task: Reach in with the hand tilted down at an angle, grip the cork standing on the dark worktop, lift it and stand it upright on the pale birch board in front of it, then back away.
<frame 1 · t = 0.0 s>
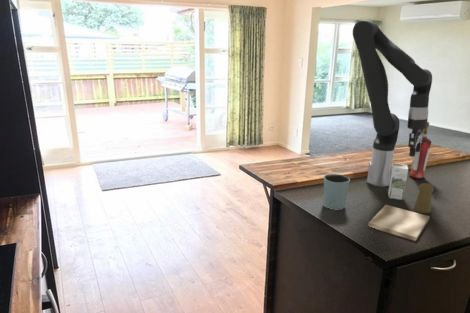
hand: (414, 154, 159), 17 cm above the worktop, tool pointing down, fingers open, 8 cm apart
blue-grey cup: (334, 205, 148), on the worktop
cork: (422, 210, 145), on the worktop
syrup box: (395, 197, 157), on the worktop
birch board: (399, 223, 134), on the worktop
liquor: (416, 177, 181), on the worktop
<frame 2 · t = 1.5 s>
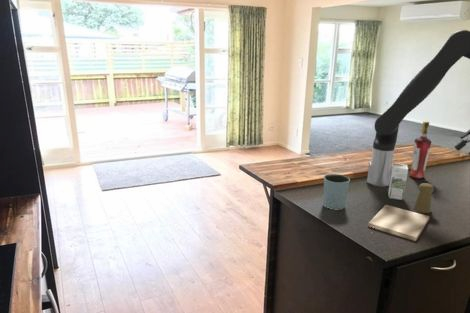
hand: (463, 152, 138), 24 cm above the worktop, tool tilted 45°, fingers open, 8 cm apart
nothing on the worktop moved.
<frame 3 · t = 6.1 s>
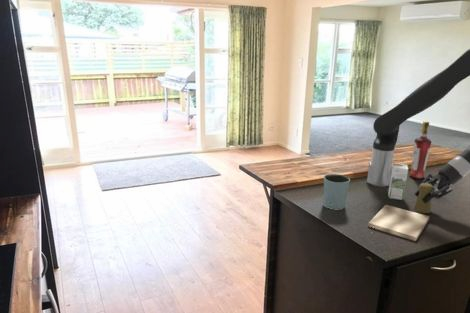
hand: (419, 198, 144), 5 cm above the worktop, tool tilted 45°, fingers closed on cork, 5 cm apart
cork: (422, 210, 145), on the worktop, touching gripper
everything else where it was.
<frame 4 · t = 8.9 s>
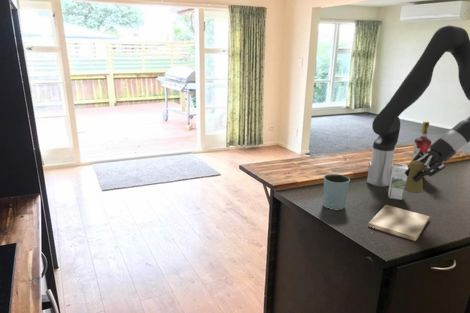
hand: (410, 177, 131), 17 cm above the worktop, tool tilted 45°, fingers closed on cork, 5 cm apart
cork: (413, 190, 133), point 12 cm above the worktop, touching gripper
everything else where it was.
when the fingers open (8 cm above the worktop, at t = 11.5 s): cork drops 1 cm, resting on birch board.
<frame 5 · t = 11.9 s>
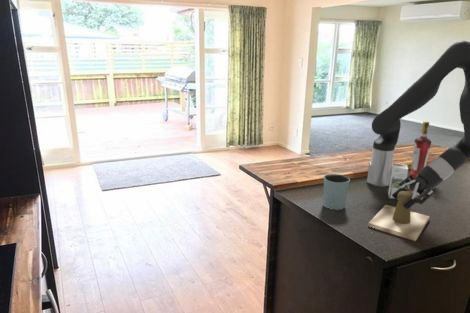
hand: (398, 202, 131), 8 cm above the worktop, tool tilted 45°, fingers open, 8 cm apart
cork: (401, 220, 133), point 1 cm above the worktop, touching birch board
everything else where it was.
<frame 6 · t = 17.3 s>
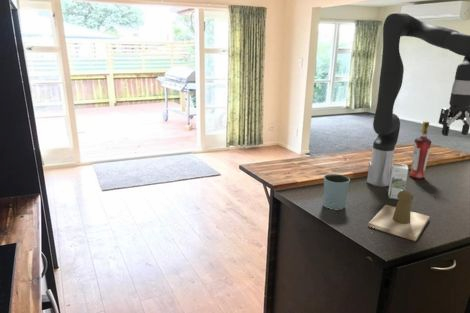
hand: (454, 135, 139), 30 cm above the worktop, tool pointing down, fingers open, 8 cm apart
nothing on the worktop moved.
at the end: cork inside the target area on the birch board (0.6 cm from its centre), point 1.3 cm above the birch board's base; cork tilted 0°; the gripper is holding nothing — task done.
